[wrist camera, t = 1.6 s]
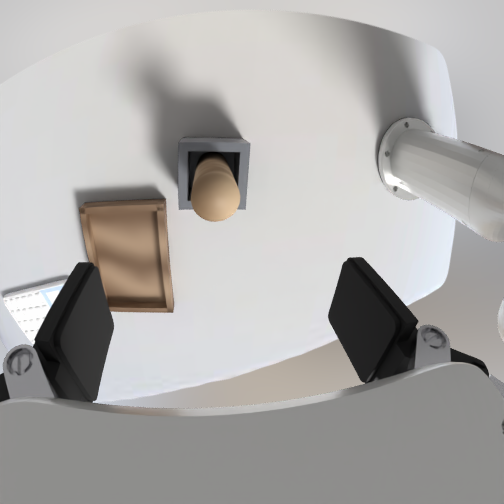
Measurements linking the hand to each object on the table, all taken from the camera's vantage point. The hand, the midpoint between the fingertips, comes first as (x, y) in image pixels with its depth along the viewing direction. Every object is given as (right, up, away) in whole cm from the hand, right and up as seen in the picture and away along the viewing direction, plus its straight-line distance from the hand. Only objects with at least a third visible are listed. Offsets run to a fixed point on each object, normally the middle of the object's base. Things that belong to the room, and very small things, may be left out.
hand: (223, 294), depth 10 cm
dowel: (-4, +11, +20) cm, 23 cm away
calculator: (-34, -10, +27) cm, 45 cm away
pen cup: (-4, +11, +20) cm, 24 cm away
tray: (-15, +1, +24) cm, 29 cm away
